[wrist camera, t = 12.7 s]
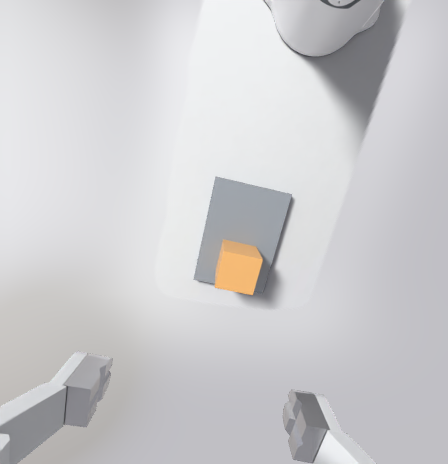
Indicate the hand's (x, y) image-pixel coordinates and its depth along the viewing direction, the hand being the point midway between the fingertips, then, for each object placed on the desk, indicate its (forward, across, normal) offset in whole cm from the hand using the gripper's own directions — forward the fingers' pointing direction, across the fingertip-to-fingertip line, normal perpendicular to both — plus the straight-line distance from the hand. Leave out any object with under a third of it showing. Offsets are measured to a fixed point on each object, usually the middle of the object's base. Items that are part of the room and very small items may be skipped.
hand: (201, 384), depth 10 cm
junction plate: (+34, -5, +1) cm, 34 cm away
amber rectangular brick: (+33, -5, +5) cm, 33 cm away
